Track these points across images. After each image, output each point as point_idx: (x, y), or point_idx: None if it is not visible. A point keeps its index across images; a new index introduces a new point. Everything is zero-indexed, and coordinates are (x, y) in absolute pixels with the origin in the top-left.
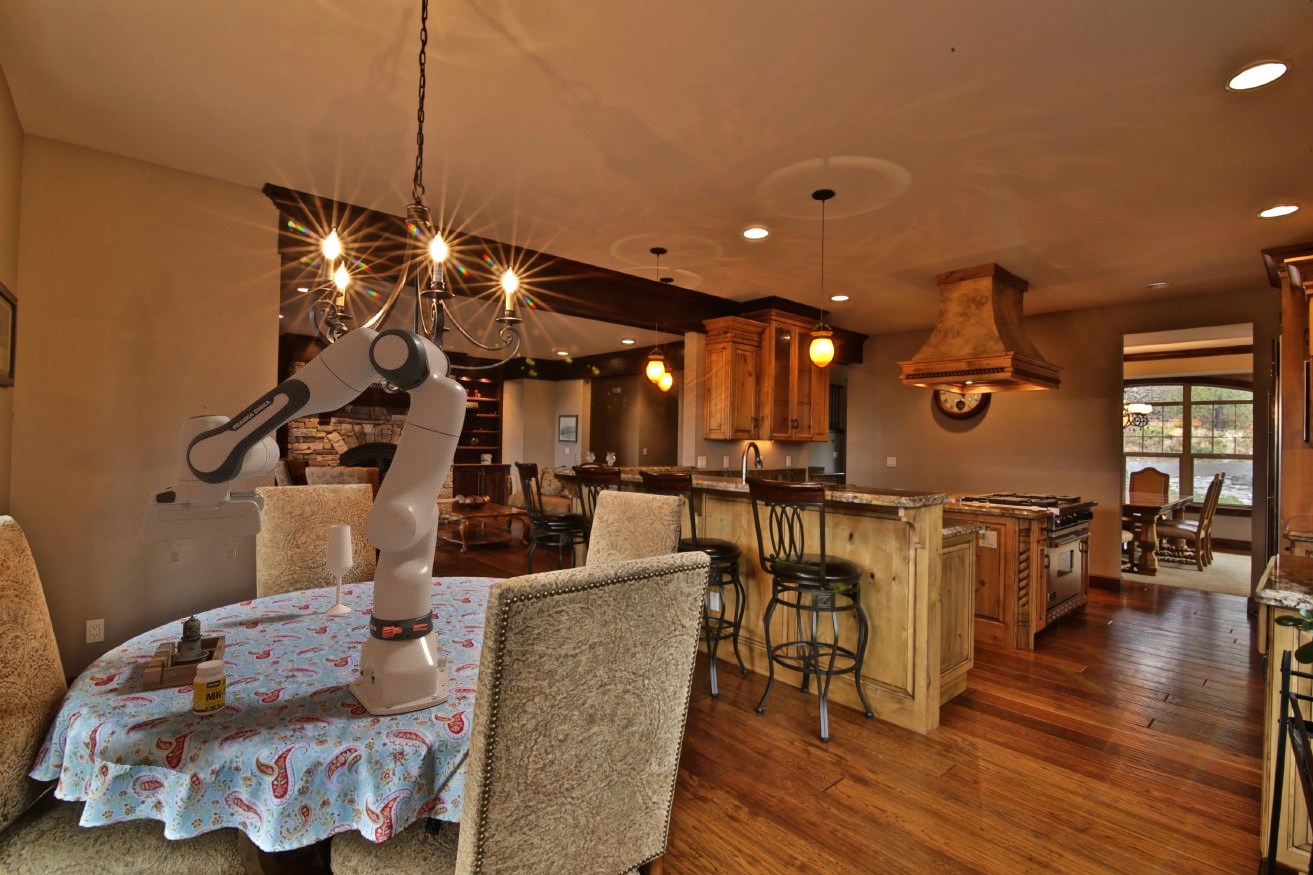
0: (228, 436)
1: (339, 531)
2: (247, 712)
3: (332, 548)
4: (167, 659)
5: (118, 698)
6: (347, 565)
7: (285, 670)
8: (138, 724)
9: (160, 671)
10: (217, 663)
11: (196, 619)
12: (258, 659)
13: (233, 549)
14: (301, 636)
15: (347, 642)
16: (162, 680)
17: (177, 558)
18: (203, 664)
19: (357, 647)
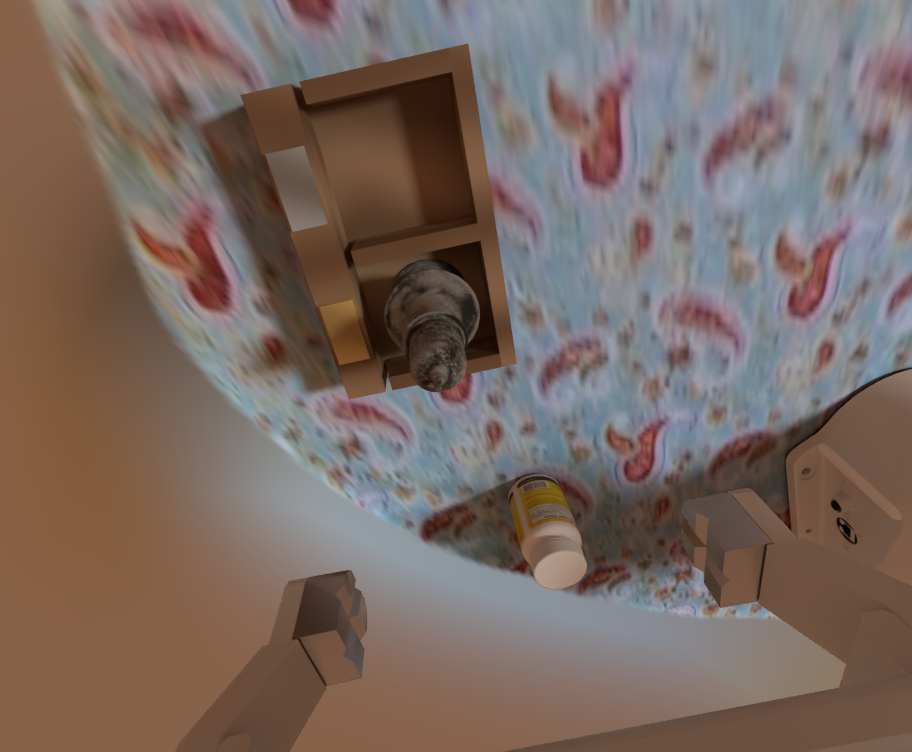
0: None
1: None
2: (603, 513)
3: None
4: (349, 267)
5: (321, 404)
6: None
7: (667, 312)
8: (429, 523)
9: (382, 379)
10: (574, 570)
11: (454, 370)
12: (590, 193)
13: (770, 599)
14: None
15: (877, 72)
16: (378, 338)
17: (357, 633)
18: (545, 571)
19: (889, 149)
